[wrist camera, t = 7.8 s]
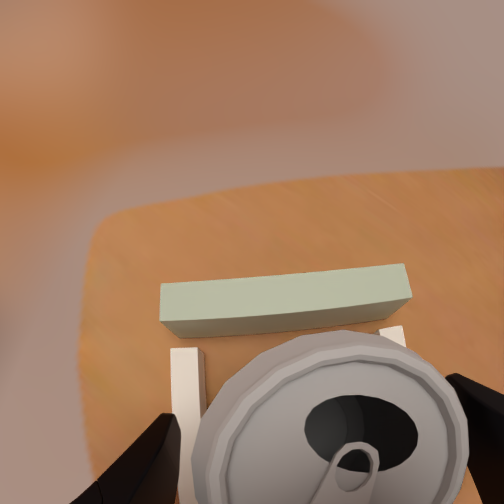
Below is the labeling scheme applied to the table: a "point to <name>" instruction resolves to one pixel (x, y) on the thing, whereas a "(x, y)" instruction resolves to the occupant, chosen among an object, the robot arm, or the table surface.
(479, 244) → the table surface
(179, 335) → the set of pale bars
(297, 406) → the can
